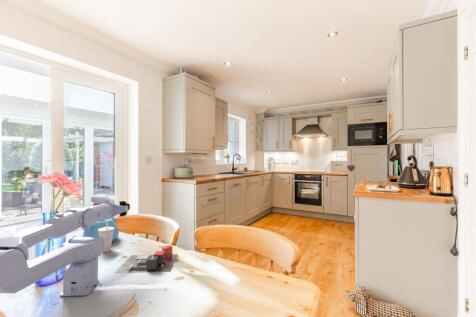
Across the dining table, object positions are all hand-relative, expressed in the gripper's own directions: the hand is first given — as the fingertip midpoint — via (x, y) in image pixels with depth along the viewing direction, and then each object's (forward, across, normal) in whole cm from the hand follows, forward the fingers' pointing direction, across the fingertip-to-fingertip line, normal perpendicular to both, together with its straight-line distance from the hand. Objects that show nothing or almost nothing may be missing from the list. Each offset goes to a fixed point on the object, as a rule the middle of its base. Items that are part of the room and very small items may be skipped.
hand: (119, 207), depth 93 cm
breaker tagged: (-4, -16, +22) cm, 27 cm away
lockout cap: (+2, -17, +22) cm, 28 cm away
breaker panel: (-4, -12, +23) cm, 26 cm away
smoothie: (+10, +13, +20) cm, 26 cm away
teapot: (+21, +24, +18) cm, 37 cm away
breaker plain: (-8, -15, +22) cm, 28 cm away
